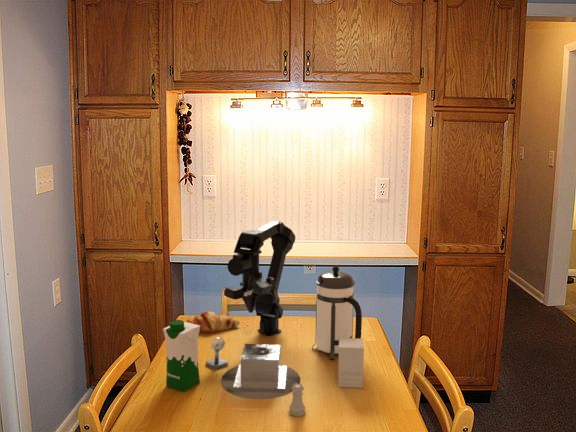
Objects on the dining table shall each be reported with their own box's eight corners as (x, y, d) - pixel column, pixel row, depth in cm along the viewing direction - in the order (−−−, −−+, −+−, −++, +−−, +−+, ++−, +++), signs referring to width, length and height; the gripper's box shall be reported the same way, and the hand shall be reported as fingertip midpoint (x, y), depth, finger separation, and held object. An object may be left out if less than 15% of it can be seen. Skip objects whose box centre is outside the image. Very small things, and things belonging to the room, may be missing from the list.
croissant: (238, 332, 213) (237, 312, 215) (241, 329, 203) (240, 308, 206) (182, 335, 208) (182, 314, 211) (182, 332, 199) (182, 310, 201)
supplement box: (362, 377, 170) (363, 338, 167) (362, 388, 162) (364, 348, 160) (337, 375, 170) (338, 337, 168) (337, 387, 163) (338, 346, 161)
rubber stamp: (218, 360, 180) (218, 332, 178) (227, 365, 177) (227, 336, 175) (205, 364, 177) (205, 336, 175) (215, 370, 173) (214, 341, 171)
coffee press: (307, 359, 182) (308, 271, 176) (316, 340, 197) (317, 259, 192) (359, 365, 178) (363, 275, 172) (365, 345, 193) (368, 262, 188)
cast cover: (239, 368, 174) (239, 340, 173) (286, 369, 174) (287, 341, 172) (232, 391, 160) (232, 361, 158) (284, 392, 159) (285, 362, 158)
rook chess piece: (288, 408, 151) (288, 381, 149) (304, 408, 151) (304, 380, 150) (289, 417, 146) (289, 389, 145) (306, 416, 147) (306, 388, 145)
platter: (265, 356, 184) (265, 355, 184) (317, 381, 167) (317, 380, 167) (205, 378, 168) (205, 377, 168) (255, 408, 150) (255, 408, 150)
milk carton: (161, 386, 162) (159, 321, 159) (182, 374, 170) (180, 312, 166) (184, 394, 158) (183, 328, 154) (204, 382, 165) (203, 318, 162)
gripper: (243, 278, 175) (244, 325, 178) (287, 268, 188) (286, 312, 191) (222, 271, 183) (223, 316, 186) (265, 262, 196) (265, 304, 199)
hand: (250, 312), depth 190 cm, fingers closed
